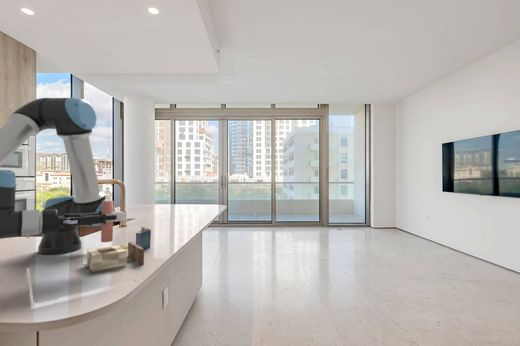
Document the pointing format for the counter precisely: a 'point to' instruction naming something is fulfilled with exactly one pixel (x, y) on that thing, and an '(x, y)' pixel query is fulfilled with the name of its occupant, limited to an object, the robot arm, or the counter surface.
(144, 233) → the flask
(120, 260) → the socket block
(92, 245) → the counter surface
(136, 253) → the grey fixture base
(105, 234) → the dowel
